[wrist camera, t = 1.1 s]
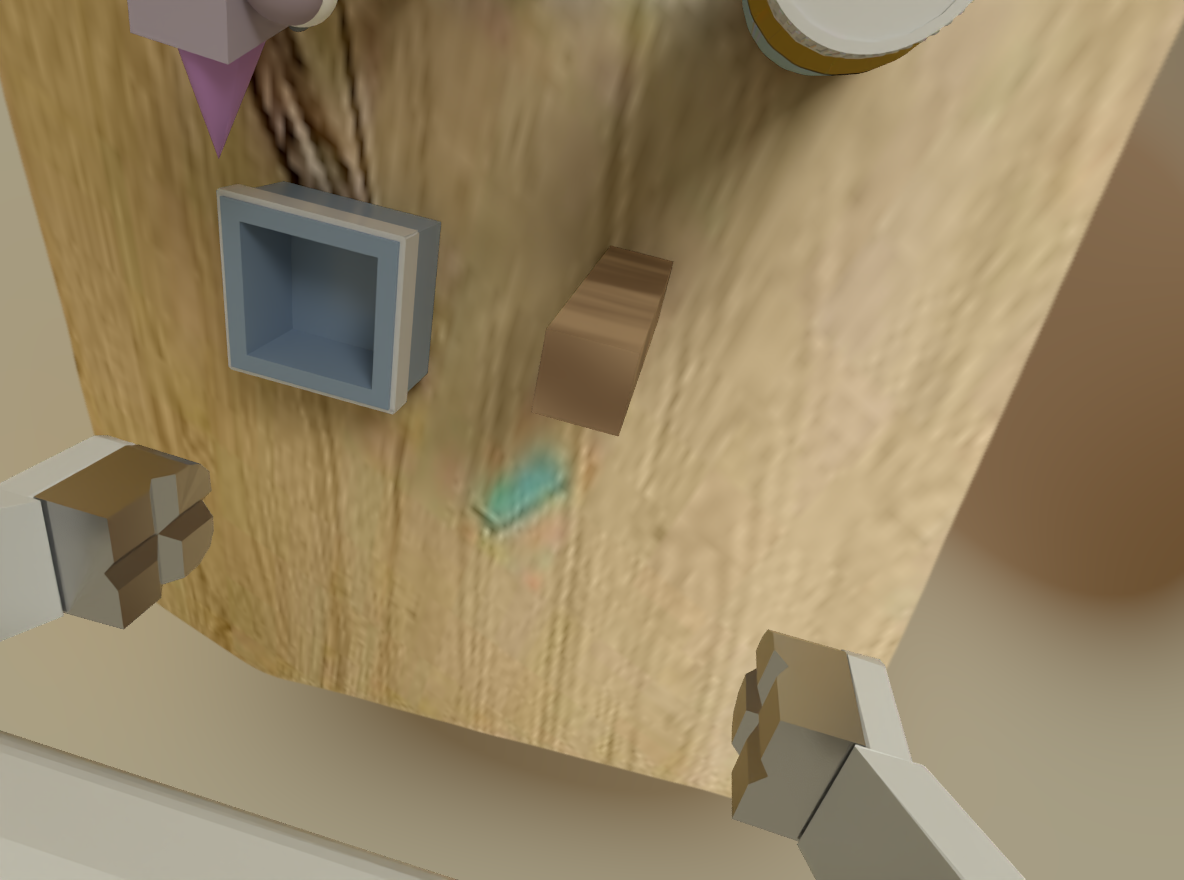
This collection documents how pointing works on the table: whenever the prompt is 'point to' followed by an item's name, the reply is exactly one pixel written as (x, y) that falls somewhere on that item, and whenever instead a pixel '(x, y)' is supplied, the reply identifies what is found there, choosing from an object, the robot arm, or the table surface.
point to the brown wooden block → (601, 341)
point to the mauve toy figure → (222, 44)
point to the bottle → (844, 31)
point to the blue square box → (327, 292)
